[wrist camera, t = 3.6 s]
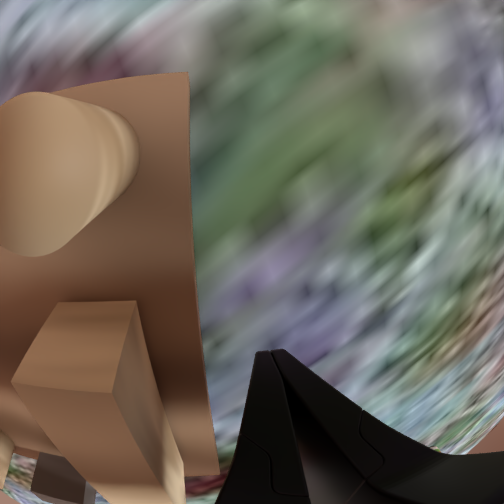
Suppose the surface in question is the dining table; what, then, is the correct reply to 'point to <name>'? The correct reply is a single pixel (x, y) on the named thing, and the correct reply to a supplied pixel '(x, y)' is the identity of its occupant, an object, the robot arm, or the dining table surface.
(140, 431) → the folding leg
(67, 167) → the stool seat
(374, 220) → the dining table surface
